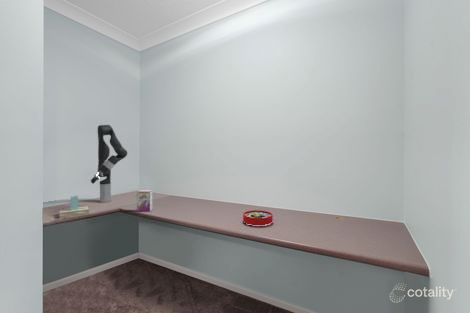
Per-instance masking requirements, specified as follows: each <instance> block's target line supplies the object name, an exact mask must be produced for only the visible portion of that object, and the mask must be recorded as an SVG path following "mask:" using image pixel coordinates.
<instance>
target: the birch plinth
mask: <svg viewBox="0 0 470 313" xmlns="http://www.w3.org/2000/svg"><path fill="white" fill-rule="evenodd" d="M88 215H90V209H89V206H88V205H84V206H78V210H71V207H68V208H60V209H59V219H60V218H61V219H68V218H74V217H80V216H81V217H82V216H88Z"/></svg>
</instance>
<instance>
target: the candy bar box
mask: <svg viewBox="0 0 470 313" xmlns="http://www.w3.org/2000/svg"><path fill="white" fill-rule="evenodd" d="M150 210H151V211H153V190H148V189H147V190H143V189H141V190H137V191H136V211H137V212H151V211H150Z"/></svg>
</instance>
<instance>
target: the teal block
mask: <svg viewBox="0 0 470 313" xmlns="http://www.w3.org/2000/svg"><path fill="white" fill-rule="evenodd" d="M78 207H79V196H78V195H71V196H70V208H71V210H78Z"/></svg>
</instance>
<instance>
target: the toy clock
mask: <svg viewBox="0 0 470 313" xmlns="http://www.w3.org/2000/svg"><path fill="white" fill-rule="evenodd" d="M242 214H243V215H242V217H243V218H242V219H243V220H242V222H243V221H244V222H245V223H247V224H252V225H265V224H269V223H271V222H272V221H273V220H274V219H273V217H274V216H273V215H274V214H273V213H272V212H270V211H266V210H260V209H259V210H256V209H255V210H247V211H245V212H244V213H242ZM253 217H254V218H253ZM262 217H264V218H262ZM273 222H274V221H273Z"/></svg>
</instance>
